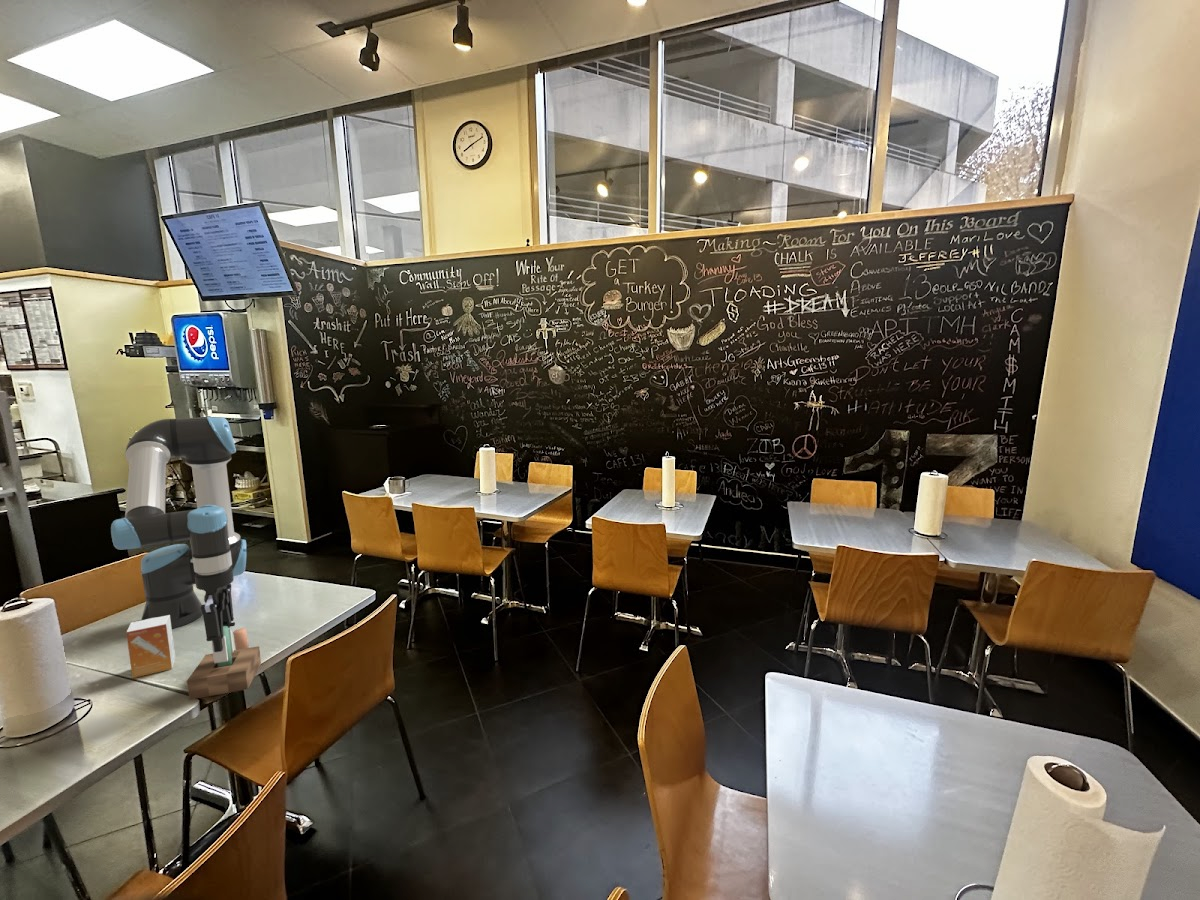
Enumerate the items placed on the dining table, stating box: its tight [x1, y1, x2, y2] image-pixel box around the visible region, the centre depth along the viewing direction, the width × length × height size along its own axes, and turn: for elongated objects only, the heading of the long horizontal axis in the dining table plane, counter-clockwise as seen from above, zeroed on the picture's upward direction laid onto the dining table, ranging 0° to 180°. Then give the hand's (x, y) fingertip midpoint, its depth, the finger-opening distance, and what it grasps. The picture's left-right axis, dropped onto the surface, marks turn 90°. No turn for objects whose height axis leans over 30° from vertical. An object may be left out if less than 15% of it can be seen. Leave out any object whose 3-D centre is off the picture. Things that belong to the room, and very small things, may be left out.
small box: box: [125, 615, 176, 679], centre depth 135 cm, size 8×6×13 cm
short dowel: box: [232, 627, 250, 650], centre depth 142 cm, size 3×3×7 cm
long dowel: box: [217, 626, 232, 667], centre depth 129 cm, size 3×3×14 cm
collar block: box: [186, 646, 262, 700], centre depth 130 cm, size 12×12×5 cm
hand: (224, 656), depth 129 cm, fingers open, 4 cm apart
